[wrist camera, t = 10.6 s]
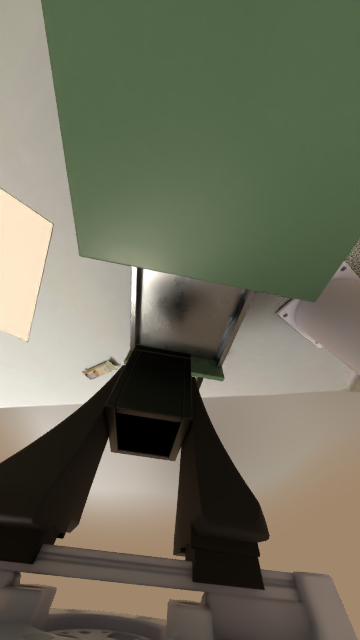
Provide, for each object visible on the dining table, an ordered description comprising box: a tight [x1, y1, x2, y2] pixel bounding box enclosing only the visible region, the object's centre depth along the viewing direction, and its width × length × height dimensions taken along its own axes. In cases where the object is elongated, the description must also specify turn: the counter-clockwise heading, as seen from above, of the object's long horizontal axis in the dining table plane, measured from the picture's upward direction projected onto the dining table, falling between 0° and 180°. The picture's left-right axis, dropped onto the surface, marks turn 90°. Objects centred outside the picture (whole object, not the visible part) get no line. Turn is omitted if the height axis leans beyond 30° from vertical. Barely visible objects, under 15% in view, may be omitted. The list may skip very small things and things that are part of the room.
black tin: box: [105, 345, 192, 461], centre depth 10 cm, size 6×4×5 cm
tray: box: [124, 267, 256, 389], centre depth 18 cm, size 18×13×4 cm
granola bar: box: [82, 361, 117, 379], centre depth 25 cm, size 7×2×1 cm, turn 119°
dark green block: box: [41, 0, 360, 302], centre depth 9 cm, size 14×16×9 cm
